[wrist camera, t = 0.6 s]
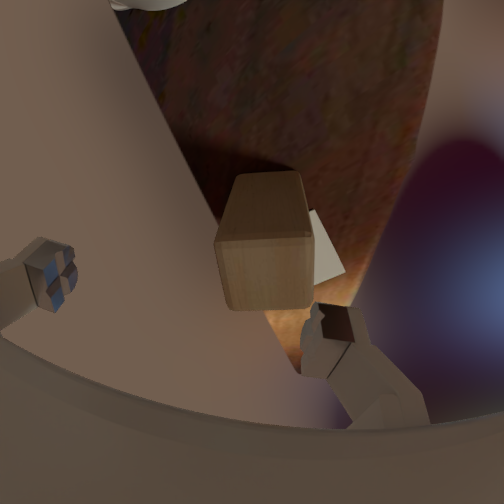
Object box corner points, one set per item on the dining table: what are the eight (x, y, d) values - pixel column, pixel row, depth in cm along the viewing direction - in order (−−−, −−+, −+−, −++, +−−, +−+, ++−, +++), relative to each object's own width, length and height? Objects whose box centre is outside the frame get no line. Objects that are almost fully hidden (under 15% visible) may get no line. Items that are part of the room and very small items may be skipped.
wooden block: (242, 228, 50) (226, 314, 34) (235, 172, 45) (209, 241, 28) (301, 225, 49) (313, 311, 32) (299, 168, 43) (316, 235, 27)
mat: (251, 238, 51) (251, 239, 51) (313, 208, 47) (314, 209, 47) (289, 293, 59) (289, 294, 58) (345, 271, 55) (345, 272, 54)
